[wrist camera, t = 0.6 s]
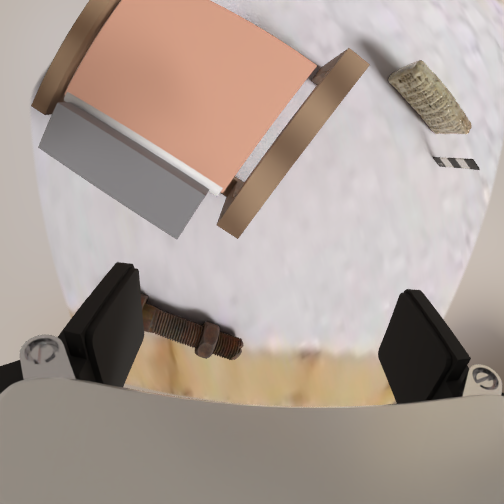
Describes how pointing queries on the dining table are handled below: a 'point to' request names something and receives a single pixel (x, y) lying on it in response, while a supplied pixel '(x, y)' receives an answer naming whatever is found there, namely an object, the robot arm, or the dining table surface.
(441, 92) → the cuneiform tablet
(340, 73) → the frame
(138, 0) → the trapdoor
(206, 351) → the bolt
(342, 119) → the dining table surface
